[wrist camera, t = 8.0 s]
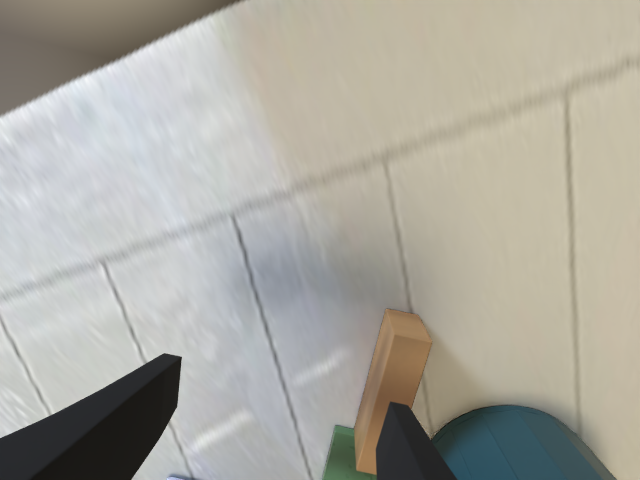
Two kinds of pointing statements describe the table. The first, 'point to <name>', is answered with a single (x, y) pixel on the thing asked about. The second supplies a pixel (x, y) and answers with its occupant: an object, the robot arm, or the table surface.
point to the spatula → (380, 395)
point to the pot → (516, 447)
